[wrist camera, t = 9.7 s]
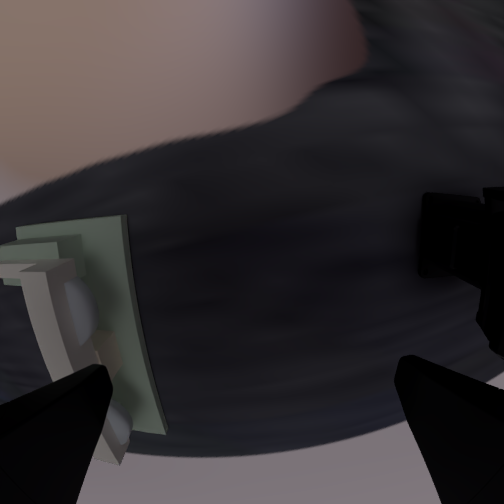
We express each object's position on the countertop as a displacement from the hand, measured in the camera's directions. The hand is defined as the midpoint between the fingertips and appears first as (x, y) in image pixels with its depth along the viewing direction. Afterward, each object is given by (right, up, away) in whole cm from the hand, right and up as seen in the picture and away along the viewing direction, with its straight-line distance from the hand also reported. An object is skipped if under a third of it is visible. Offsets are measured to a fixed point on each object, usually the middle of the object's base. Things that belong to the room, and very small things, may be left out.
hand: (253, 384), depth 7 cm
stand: (-14, -4, +13) cm, 19 cm away
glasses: (-14, -5, +9) cm, 17 cm away
